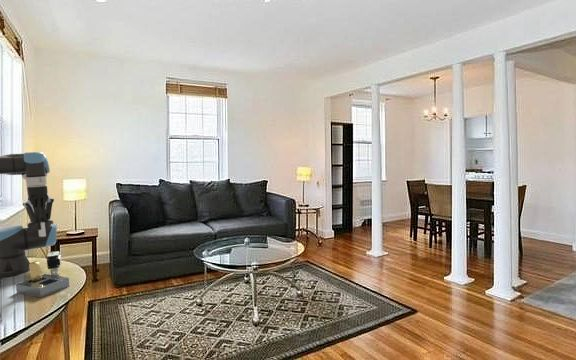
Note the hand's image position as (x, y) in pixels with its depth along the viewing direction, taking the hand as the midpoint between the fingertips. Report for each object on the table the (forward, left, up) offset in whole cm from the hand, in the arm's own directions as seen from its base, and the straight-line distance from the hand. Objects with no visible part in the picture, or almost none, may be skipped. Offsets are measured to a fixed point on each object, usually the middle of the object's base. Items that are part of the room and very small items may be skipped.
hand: (42, 236), depth 167 cm
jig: (+6, -6, -23) cm, 24 cm away
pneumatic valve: (-7, +9, -23) cm, 26 cm away
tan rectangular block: (+2, -6, -23) cm, 23 cm away
